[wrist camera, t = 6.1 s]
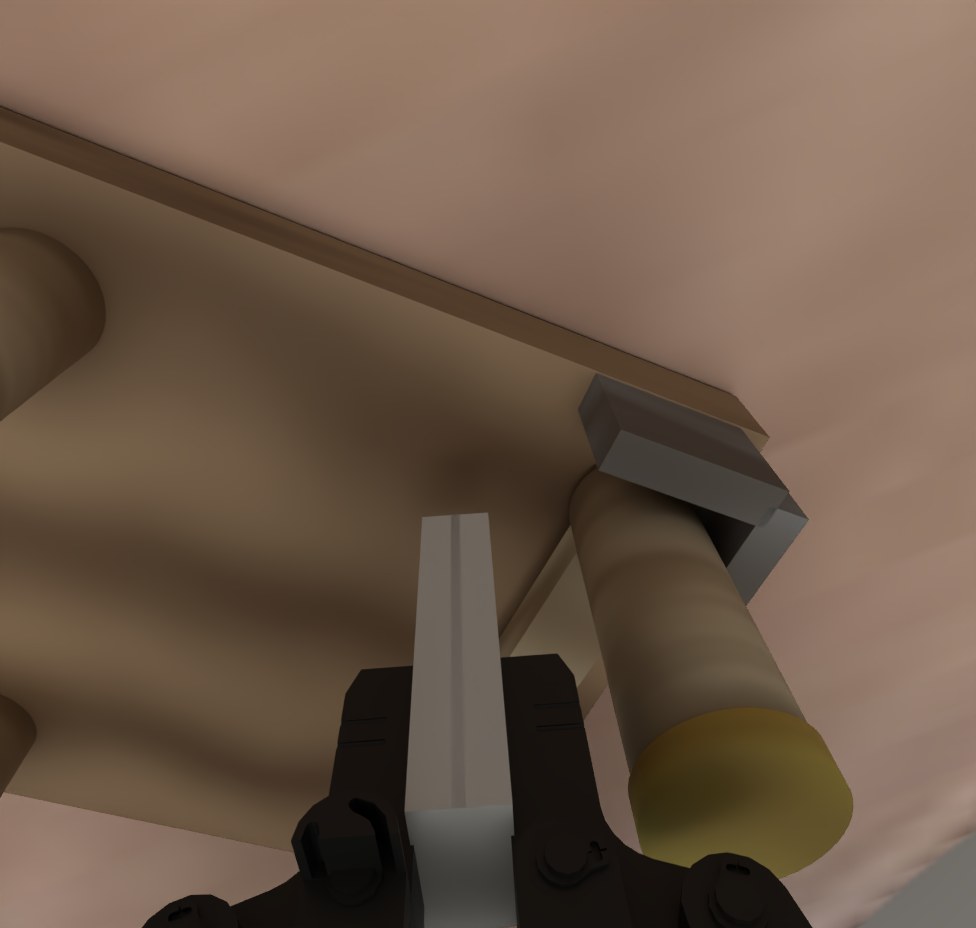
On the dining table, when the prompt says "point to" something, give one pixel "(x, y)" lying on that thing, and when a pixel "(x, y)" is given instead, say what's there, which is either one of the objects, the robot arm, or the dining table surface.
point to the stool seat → (276, 480)
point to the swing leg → (683, 683)
